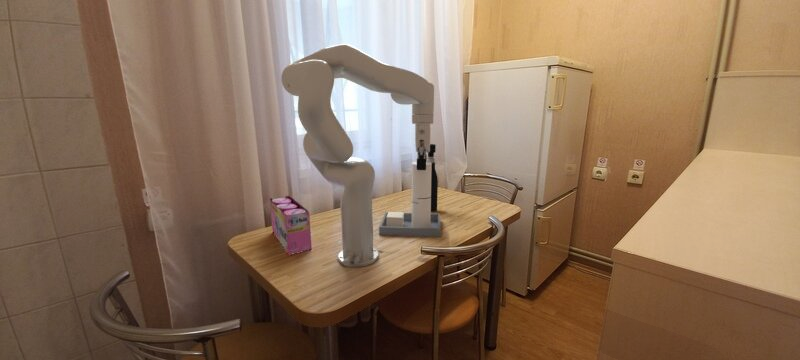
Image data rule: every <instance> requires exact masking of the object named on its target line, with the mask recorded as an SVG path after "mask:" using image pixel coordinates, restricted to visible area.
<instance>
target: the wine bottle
mask: <svg viewBox="0 0 800 360" xmlns="http://www.w3.org/2000/svg"><path fill="white" fill-rule="evenodd" d="M436 146H437V145H436V144H433V143H430V152H429V153H428V151H426V154H427V161H426V162H431V163H432V168H431V213H432V212H438V192H439V191H438V187H439V185H438V182H439V181H438V174H437V170H436V162H435V160H436V159H435V153H436V150H437V149H436Z"/></svg>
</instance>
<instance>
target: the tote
mask: <svg viewBox="0 0 800 360" xmlns="http://www.w3.org/2000/svg"><path fill="white" fill-rule="evenodd" d="M388 212H389V211H387V212H386V211H385V213H384V214H383V217H382V219H381V222H380V224H379V227H378V234H379V236H399V237H402V236H403V237H424V238H425V237H427V238H441V237H442V235H441V234H442V231H441V230H442V228H441V227H442V226H441V225H442V224H441V213H431V224H430V228H420V227H412V212H404V226H403V227H389V226H387V221H386V217H387V214H388Z"/></svg>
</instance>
